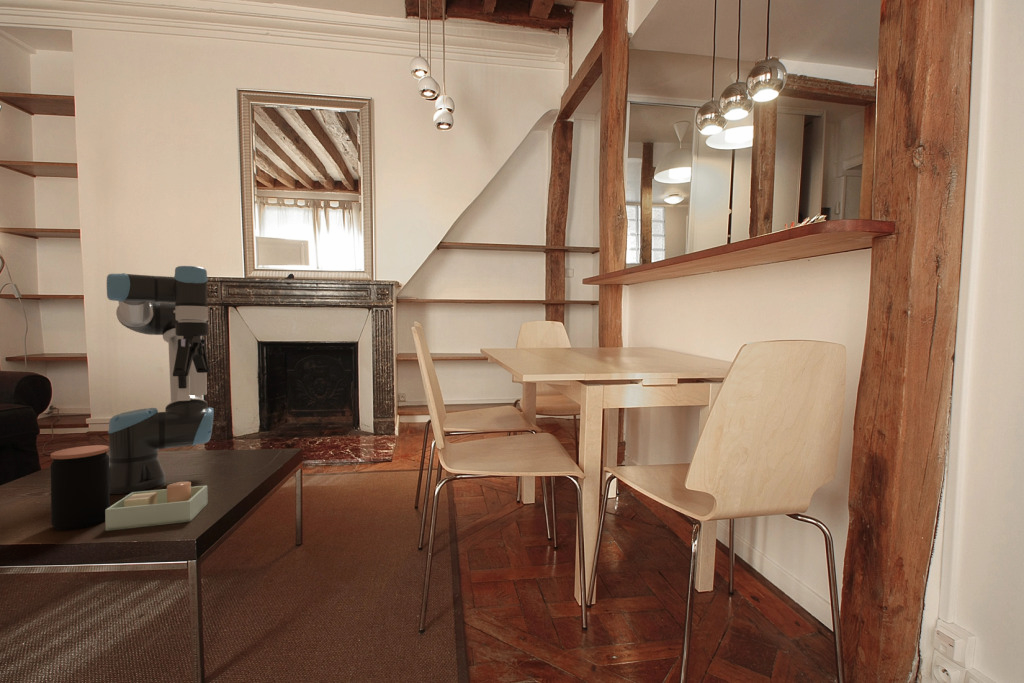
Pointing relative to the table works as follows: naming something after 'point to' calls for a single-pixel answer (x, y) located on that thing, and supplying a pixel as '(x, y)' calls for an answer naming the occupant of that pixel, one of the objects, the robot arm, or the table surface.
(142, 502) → the beech cube
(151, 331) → the robot arm
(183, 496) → the peach block
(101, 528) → the table surface
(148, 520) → the tray
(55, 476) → the coffee jar
